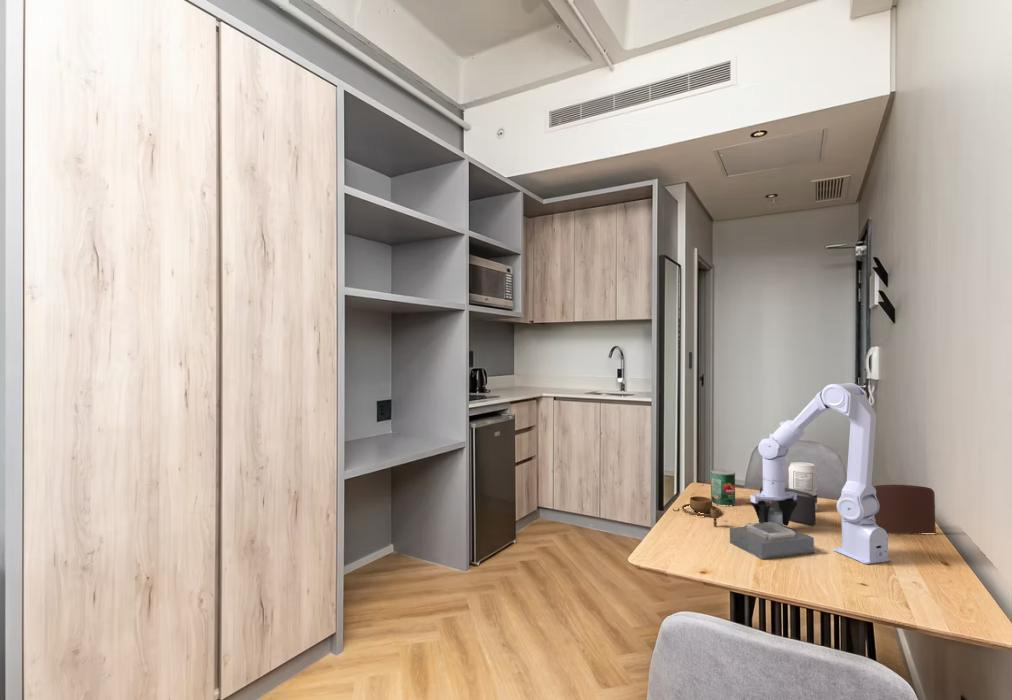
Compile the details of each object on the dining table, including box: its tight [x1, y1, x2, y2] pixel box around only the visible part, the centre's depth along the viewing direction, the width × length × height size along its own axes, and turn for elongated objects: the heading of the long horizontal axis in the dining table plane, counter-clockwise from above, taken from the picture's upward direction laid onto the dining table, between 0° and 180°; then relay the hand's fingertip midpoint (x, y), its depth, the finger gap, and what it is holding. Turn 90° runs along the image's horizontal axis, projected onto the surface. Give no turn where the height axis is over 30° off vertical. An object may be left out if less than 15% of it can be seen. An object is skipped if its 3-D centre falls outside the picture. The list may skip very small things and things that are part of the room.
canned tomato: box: [710, 468, 736, 507], centre depth 178 cm, size 8×8×11 cm
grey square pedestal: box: [729, 522, 815, 560], centre depth 139 cm, size 16×16×5 cm
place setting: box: [672, 495, 722, 528], centre depth 165 cm, size 18×20×6 cm
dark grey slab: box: [759, 485, 817, 526], centre depth 160 cm, size 16×5×9 cm, turn 39°
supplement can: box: [788, 461, 818, 511], centre depth 171 cm, size 8×8×15 cm
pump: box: [768, 508, 784, 525], centre depth 150 cm, size 4×4×6 cm
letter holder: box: [872, 484, 937, 535], centre depth 151 cm, size 10×20×14 cm, turn 86°
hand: (774, 525), depth 150 cm, fingers open, 7 cm apart
